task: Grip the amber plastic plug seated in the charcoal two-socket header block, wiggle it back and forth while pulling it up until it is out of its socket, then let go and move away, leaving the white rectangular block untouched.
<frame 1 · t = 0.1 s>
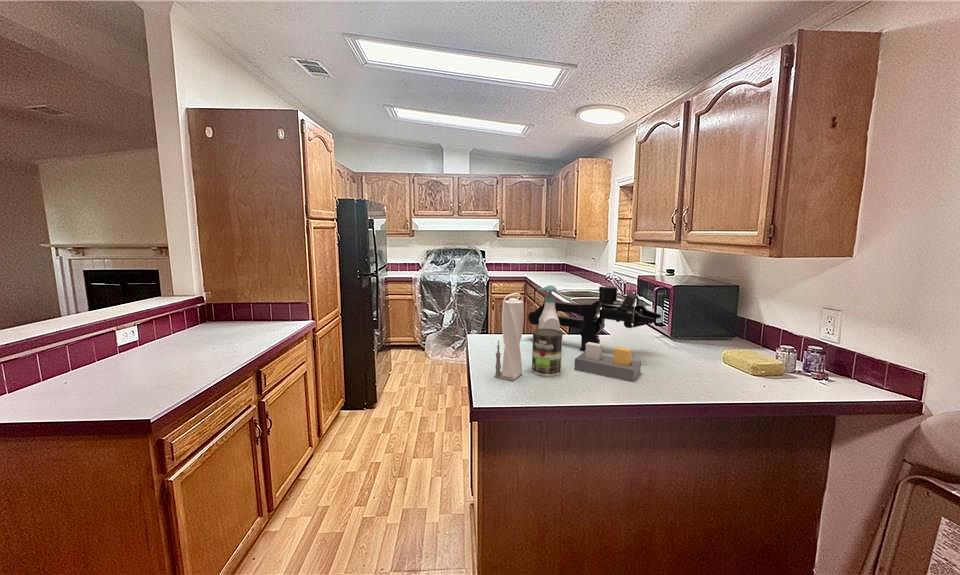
hand: (658, 318, 146), 17 cm above the counter, tool horizontal, fingers open, 9 cm apart
coffee can: (546, 371, 138), on the counter
header block: (606, 371, 138), on the counter
amber plug: (622, 360, 134), point 5 cm above the counter, slide at 0.0 cm
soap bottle: (546, 353, 158), on the counter
skyscraper: (510, 376, 133), on the counter
white rectangular block: (593, 354, 140), point 5 cm above the counter, slide at 0.0 cm
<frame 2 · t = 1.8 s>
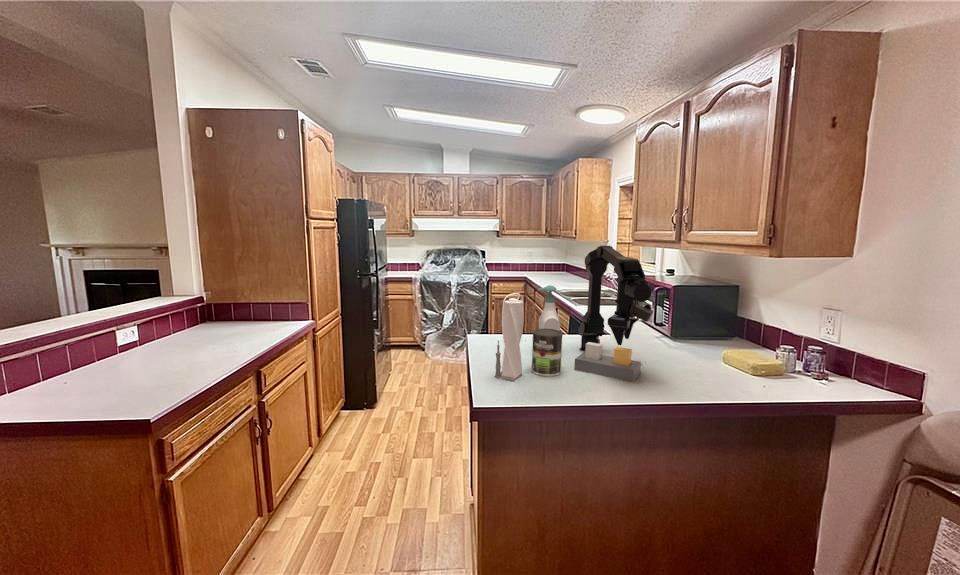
hand: (623, 341, 133), 11 cm above the counter, tool pointing down, fingers open, 9 cm apart
nothing on the counter moved.
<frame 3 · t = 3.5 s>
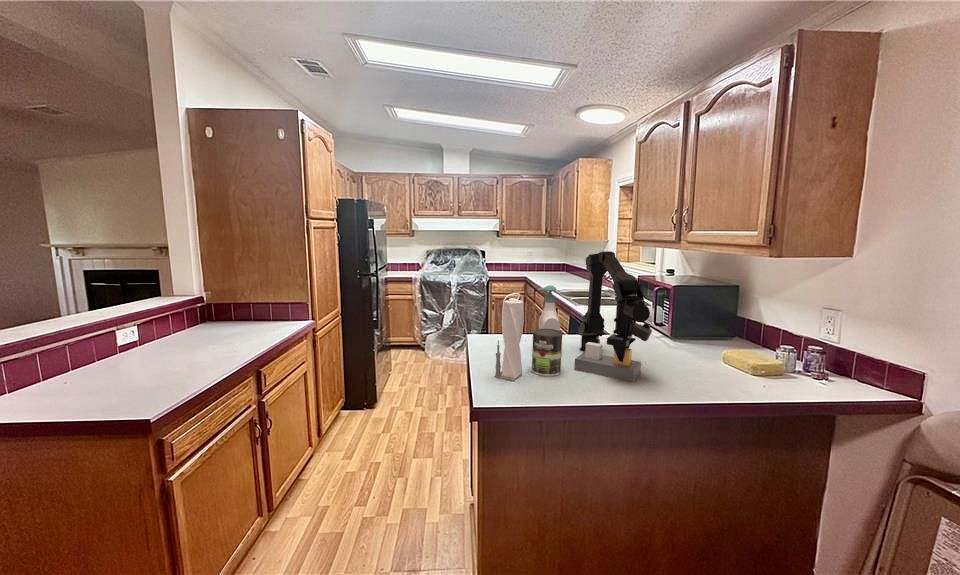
hand: (622, 360, 134), 5 cm above the counter, tool pointing down, fingers closed on amber plug, 3 cm apart
amber plug: (622, 360, 134), point 5 cm above the counter, slide at 0.0 cm, touching gripper
everything else where it was.
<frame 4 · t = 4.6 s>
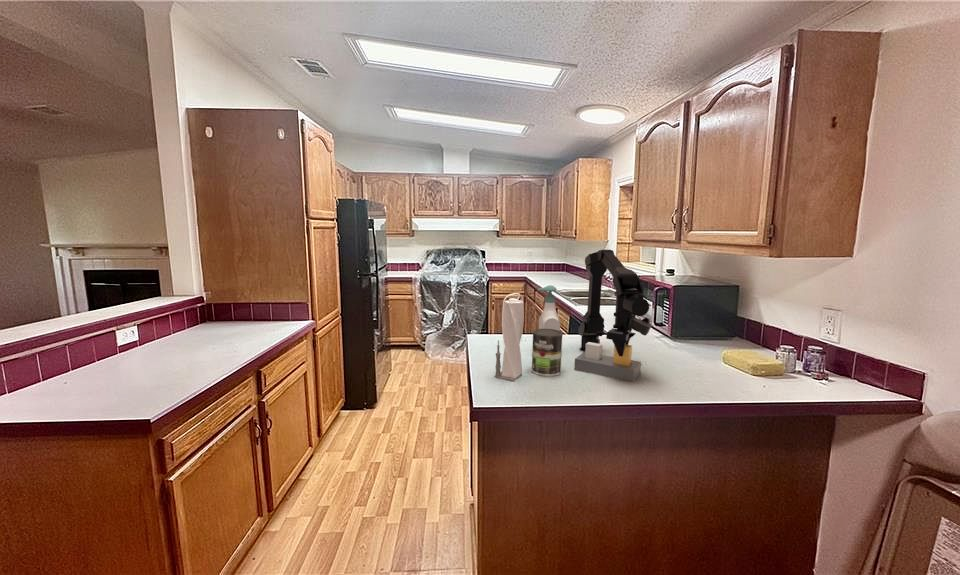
hand: (622, 354, 134), 7 cm above the counter, tool pointing down, fingers closed on amber plug, 3 cm apart
amber plug: (622, 356, 134), point 6 cm above the counter, slide at 1.3 cm, touching gripper
everything else where it was.
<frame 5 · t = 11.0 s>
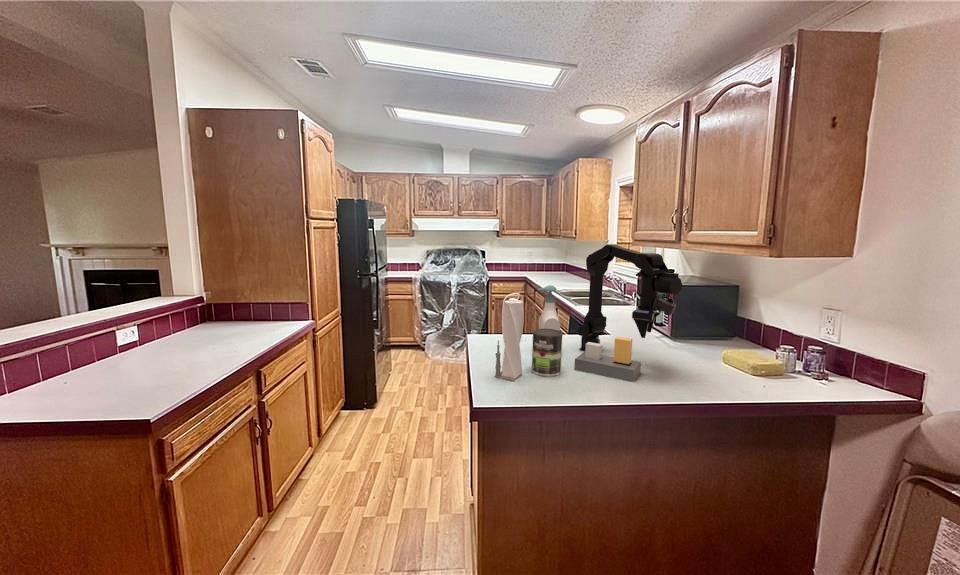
hand: (646, 334, 136), 13 cm above the counter, tool pointing down, fingers open, 9 cm apart
amber plug: (623, 350, 134), point 9 cm above the counter, slide at 3.6 cm
everything else where it was.
at the end: amber plug slide at 3.6 cm; white rectangular block slide at 0.0 cm; the gripper is holding nothing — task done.
